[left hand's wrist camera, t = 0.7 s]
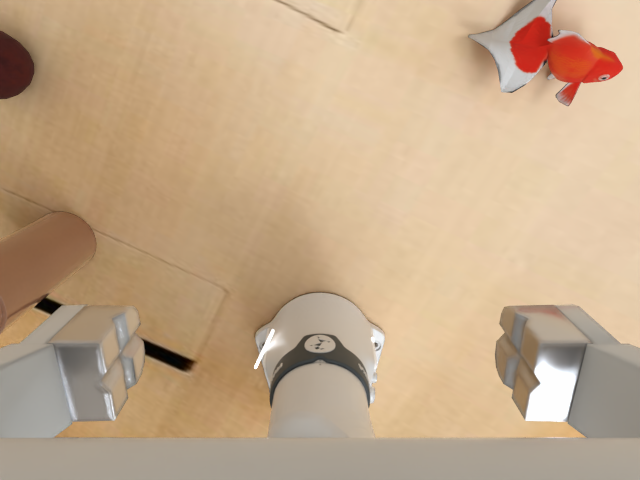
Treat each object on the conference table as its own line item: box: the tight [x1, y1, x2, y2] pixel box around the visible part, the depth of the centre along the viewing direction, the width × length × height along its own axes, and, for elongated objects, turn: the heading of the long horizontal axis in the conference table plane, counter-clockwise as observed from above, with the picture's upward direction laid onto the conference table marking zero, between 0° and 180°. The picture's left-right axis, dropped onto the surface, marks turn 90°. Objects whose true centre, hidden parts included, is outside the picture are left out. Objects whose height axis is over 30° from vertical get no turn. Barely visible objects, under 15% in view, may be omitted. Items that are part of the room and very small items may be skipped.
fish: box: [468, 0, 623, 106], centre depth 49 cm, size 11×16×10 cm
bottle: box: [0, 212, 96, 334], centre depth 50 cm, size 8×8×23 cm
